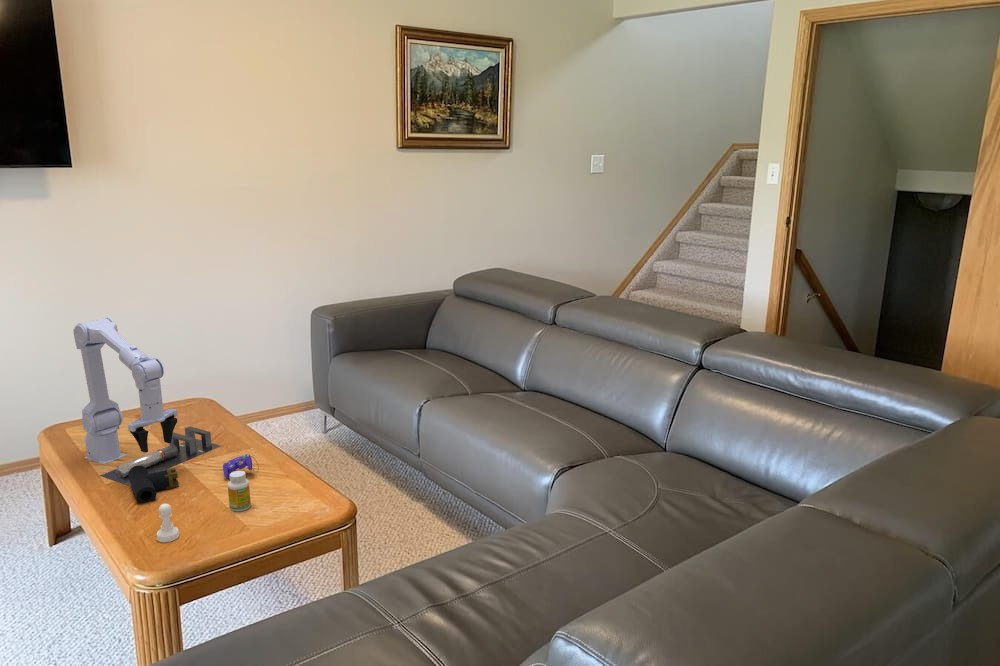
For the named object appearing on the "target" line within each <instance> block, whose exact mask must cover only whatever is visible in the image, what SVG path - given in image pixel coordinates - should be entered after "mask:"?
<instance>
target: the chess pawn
mask: <svg viewBox="0 0 1000 666" xmlns="http://www.w3.org/2000/svg"><path fill="white" fill-rule="evenodd" d="M171 511H172V506H171V505H170V504H169V503H162V504H160V506H159V507H158V513H159V515H158V516H159V519H162V524H161V525H160V527H159V528H160V529H158V531H157V532H156V540H157V541H158V542H159V543H169V542H174V541H175V540H177V539H178V538H179V537H180V532H179V531H180V530H179V528H178V527H177V526H174V523H173V522H172V521H171V519H170V518H171V517H172V516H173V512H172V513H171Z"/></svg>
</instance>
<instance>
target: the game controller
mask: <svg viewBox="0 0 1000 666" xmlns="http://www.w3.org/2000/svg"><path fill="white" fill-rule="evenodd" d="M252 458H253V459H254V460H255V463H256V465H259V464H258V461H257V460H256V458H255V457H253V456H251V454H244V455H241V456H237V457H234V458H232V459H231V460H226V461H225V462H224V463H223V464H222V470H223V476H224V477H225V479H230V473H232V472H234V471H238V469H239V470H243V469H245V468H246V467H247V469H248V470H249V471H253V470H252V469H253V459H252ZM257 468H258V469H257V471H259V466H257Z"/></svg>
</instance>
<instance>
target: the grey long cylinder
mask: <svg viewBox="0 0 1000 666" xmlns="http://www.w3.org/2000/svg"><path fill="white" fill-rule="evenodd" d="M177 454H178V449H177V447H176V446H175V445H173V444H172V445H170V444H169V445H167V446H165V447H163V448H160V449H159V448H158V449H157V450H155V451H153V452H150V453H148V454H145V455H142V456H140V457H138V458H134V459H132V460H130V461H127V462H124V463H123V464H120V465H118V466H117V467H116V469H117V473H118V475H119V476H120V477H122V478H123V477H125V476H128V473H129V471H130V469H131V468H133V467H135V466H143V467H145V468H147V467H149V466H152V465H154V464H157V463H159V462H162V461H164V460H166V459H169V458H171V457H174V456H176V455H177Z"/></svg>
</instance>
